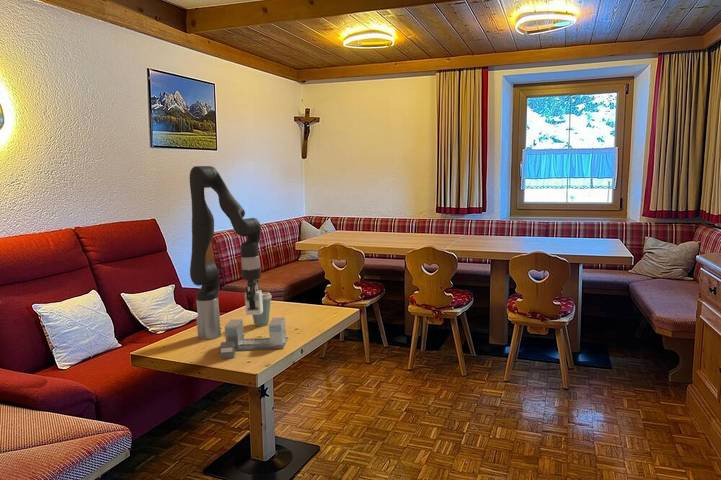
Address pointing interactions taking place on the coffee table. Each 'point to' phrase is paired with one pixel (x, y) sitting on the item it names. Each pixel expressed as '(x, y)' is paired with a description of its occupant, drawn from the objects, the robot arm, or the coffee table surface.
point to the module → (258, 304)
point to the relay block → (227, 350)
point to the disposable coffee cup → (264, 317)
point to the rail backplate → (274, 342)
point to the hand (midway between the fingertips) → (254, 307)
